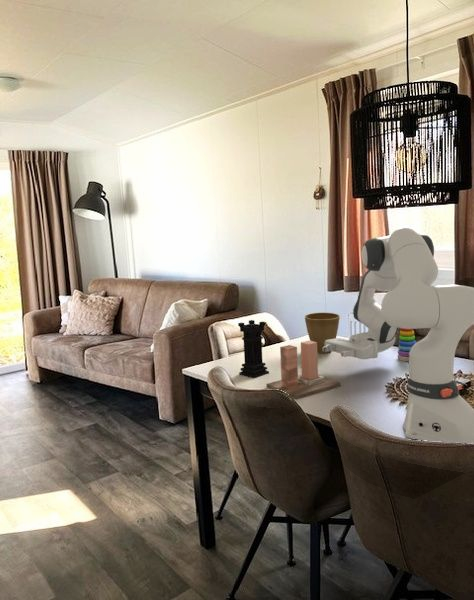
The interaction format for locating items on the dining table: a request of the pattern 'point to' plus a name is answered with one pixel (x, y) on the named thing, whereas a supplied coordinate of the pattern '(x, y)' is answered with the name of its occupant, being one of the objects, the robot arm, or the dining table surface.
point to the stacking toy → (405, 343)
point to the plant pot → (322, 328)
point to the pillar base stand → (298, 377)
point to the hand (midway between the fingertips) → (332, 352)
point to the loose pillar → (309, 360)
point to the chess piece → (252, 349)
